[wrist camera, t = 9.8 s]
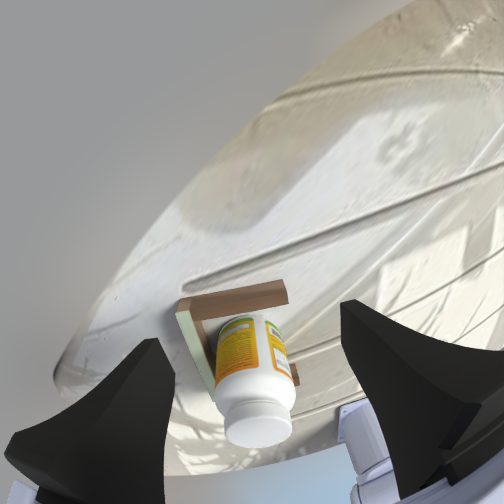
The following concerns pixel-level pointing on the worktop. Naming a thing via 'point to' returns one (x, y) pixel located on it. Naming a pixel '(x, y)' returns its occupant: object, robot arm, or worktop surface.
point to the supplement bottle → (253, 382)
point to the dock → (219, 306)
